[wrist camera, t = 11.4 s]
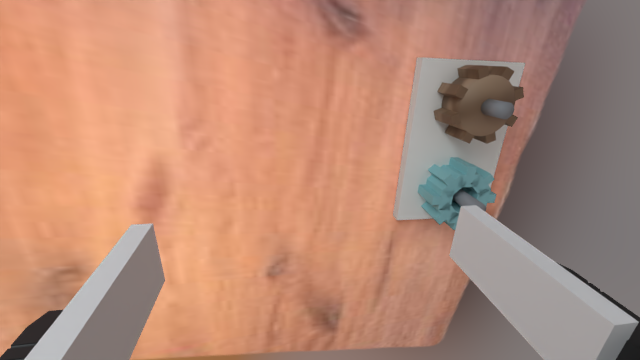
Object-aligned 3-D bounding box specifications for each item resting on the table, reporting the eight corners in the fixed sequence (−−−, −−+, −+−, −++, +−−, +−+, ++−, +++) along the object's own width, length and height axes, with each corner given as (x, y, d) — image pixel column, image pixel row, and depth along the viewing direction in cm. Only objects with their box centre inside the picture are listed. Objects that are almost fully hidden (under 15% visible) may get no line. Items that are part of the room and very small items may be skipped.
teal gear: (413, 216, 44) (426, 231, 40) (423, 157, 40) (439, 167, 37) (469, 214, 45) (486, 227, 42) (483, 157, 42) (504, 166, 38)
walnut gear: (442, 63, 36) (461, 64, 32) (506, 66, 37) (532, 67, 34) (428, 135, 39) (445, 143, 36) (488, 136, 41) (510, 143, 37)
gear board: (417, 57, 37) (457, 57, 29) (516, 62, 39) (578, 64, 31) (392, 215, 45) (419, 248, 37) (476, 211, 47) (517, 241, 40)
